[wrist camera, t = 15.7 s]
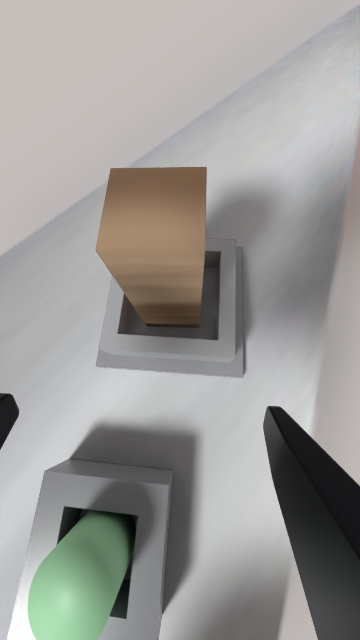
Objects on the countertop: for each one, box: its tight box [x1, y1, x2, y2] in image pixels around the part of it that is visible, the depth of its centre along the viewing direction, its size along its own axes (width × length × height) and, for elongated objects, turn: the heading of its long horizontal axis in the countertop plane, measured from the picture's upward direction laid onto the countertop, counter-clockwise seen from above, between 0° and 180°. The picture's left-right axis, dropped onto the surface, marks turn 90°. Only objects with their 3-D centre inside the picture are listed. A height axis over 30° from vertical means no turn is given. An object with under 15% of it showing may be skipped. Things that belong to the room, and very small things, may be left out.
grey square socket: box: [96, 239, 243, 378], centre depth 20 cm, size 12×12×3 cm
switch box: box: [7, 459, 173, 640], centre depth 15 cm, size 8×8×3 cm
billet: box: [96, 167, 207, 328], centre depth 15 cm, size 4×4×11 cm
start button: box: [28, 509, 136, 640], centre depth 13 cm, size 4×4×5 cm
